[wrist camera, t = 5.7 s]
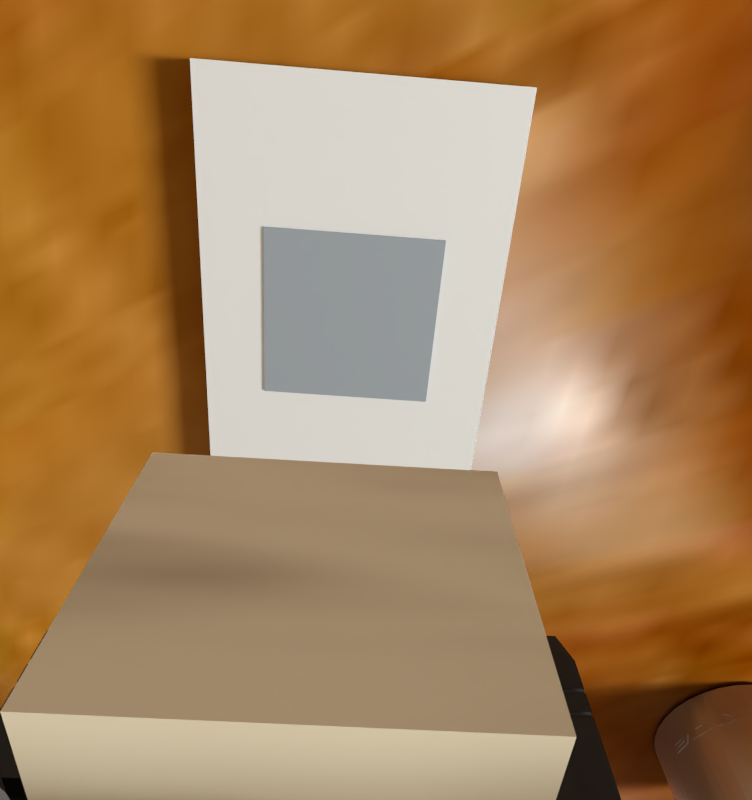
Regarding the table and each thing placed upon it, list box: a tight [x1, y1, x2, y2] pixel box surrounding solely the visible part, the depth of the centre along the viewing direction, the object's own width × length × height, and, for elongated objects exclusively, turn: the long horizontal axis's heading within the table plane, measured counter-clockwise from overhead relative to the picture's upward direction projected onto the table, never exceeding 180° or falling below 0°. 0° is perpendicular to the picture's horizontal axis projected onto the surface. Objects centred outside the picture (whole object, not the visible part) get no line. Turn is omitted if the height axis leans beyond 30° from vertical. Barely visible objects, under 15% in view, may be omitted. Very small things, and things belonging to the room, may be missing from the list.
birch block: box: [0, 452, 576, 800], centre depth 10 cm, size 6×6×5 cm
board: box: [190, 58, 537, 470], centre depth 26 cm, size 18×12×1 cm, turn 176°
